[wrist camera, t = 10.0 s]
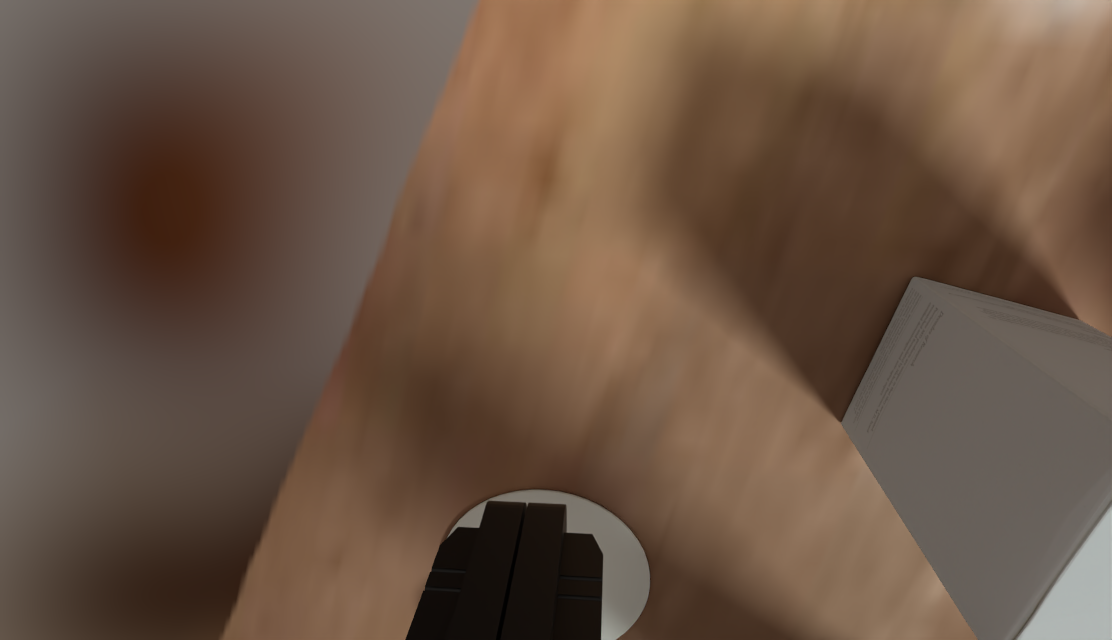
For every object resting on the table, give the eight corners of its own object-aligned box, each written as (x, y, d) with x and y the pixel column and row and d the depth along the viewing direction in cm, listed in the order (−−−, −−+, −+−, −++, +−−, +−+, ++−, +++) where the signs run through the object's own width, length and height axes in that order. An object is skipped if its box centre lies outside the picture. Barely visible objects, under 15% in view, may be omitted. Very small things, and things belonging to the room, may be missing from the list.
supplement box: (833, 425, 34) (981, 670, 21) (909, 271, 31) (1149, 439, 17) (995, 469, 35) (1251, 741, 21) (1089, 320, 31) (1470, 526, 17)
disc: (657, 496, 37) (657, 498, 37) (643, 661, 42) (643, 664, 42) (435, 482, 38) (434, 484, 38) (446, 645, 43) (446, 648, 43)
